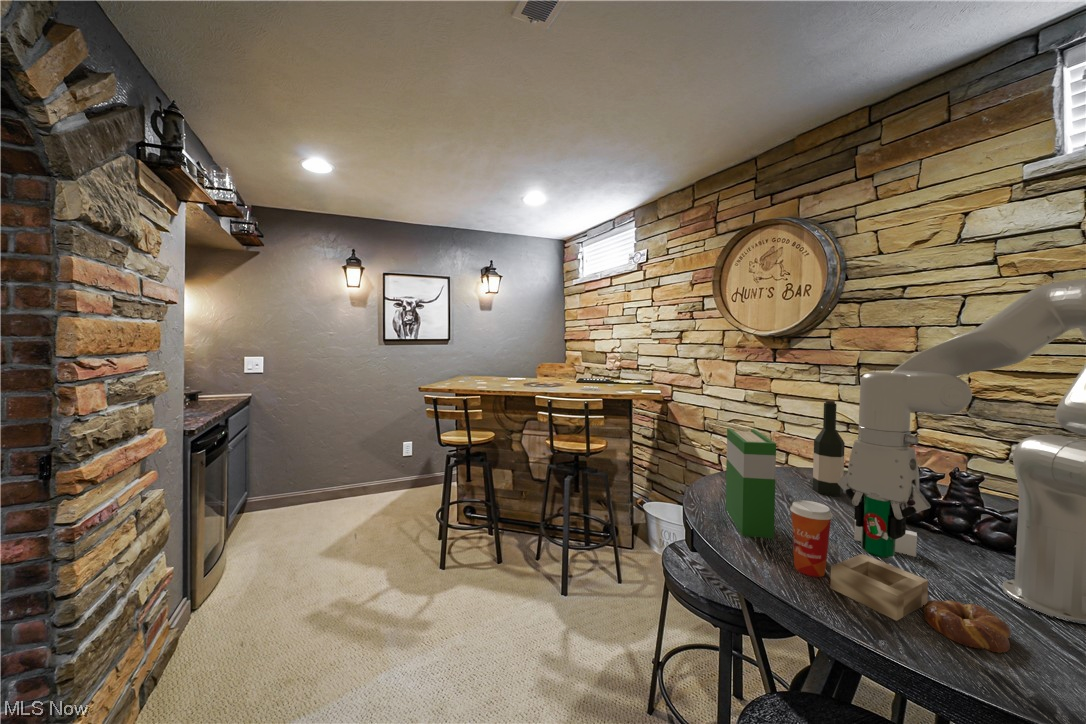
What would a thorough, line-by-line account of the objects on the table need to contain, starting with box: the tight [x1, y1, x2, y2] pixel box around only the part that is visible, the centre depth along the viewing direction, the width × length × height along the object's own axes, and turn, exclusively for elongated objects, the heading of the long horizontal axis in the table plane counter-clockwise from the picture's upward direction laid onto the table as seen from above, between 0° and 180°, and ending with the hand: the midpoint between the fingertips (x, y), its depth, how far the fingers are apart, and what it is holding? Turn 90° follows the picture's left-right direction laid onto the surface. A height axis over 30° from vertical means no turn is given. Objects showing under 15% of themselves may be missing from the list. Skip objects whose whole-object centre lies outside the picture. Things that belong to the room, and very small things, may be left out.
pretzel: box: [923, 599, 1012, 654], centre depth 71 cm, size 12×11×4 cm
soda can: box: [860, 492, 896, 559], centre depth 80 cm, size 5×5×12 cm
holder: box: [829, 553, 929, 622], centre depth 81 cm, size 11×11×4 cm
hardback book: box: [725, 427, 777, 539], centre depth 113 cm, size 18×7×24 cm, turn 169°
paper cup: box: [789, 499, 834, 578], centre depth 90 cm, size 8×8×14 cm
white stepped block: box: [853, 519, 918, 557], centre depth 100 cm, size 15×11×6 cm
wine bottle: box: [812, 399, 846, 497], centre depth 137 cm, size 8×8×30 cm
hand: (878, 530), depth 80 cm, fingers closed on soda can, 5 cm apart
